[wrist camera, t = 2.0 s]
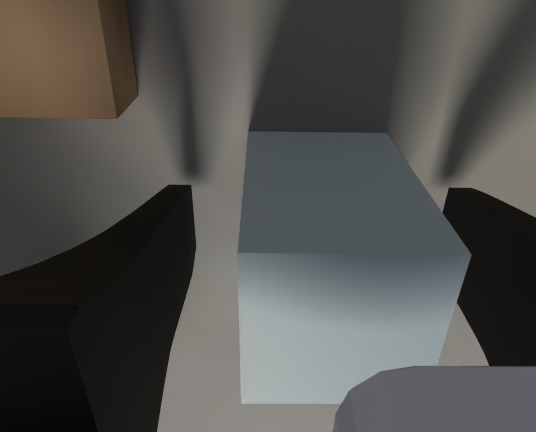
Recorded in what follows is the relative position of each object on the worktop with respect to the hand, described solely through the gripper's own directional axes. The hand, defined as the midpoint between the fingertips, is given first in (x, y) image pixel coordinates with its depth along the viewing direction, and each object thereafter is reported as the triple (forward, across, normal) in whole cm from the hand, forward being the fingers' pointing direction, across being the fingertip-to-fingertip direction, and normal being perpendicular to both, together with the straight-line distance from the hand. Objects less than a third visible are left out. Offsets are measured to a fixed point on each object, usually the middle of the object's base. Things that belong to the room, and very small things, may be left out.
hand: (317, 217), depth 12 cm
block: (+2, 0, 0) cm, 2 cm away
